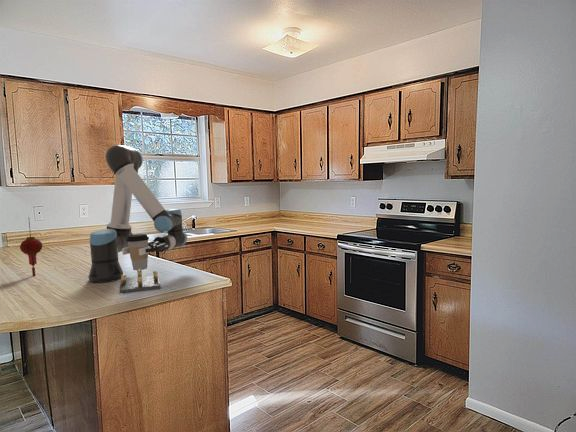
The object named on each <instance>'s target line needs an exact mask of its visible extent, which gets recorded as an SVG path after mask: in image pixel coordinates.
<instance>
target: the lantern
mask: <svg viewBox="0 0 576 432" xmlns="http://www.w3.org/2000/svg"><path fill="white" fill-rule="evenodd" d="M28 219H30V217H29V216H28ZM30 223H31V222H30V221H28V227H29V230H31V226H30V225H31V224H30ZM19 248H20V249H19V250H20V251H21V252H22V253H23V254H25V255H27V257H28V263H29V264H28V265H31V271H32V272H31V273H32V277H35V276H36V268H35V265H37V254H38V253H39V252H41V250H42V249H43V243H42V241H41V240H40V239H37V238H35V236H32V234H31V232H29V236H27V237H26V239H24V240H23V241H21V243H20V247H19Z"/></svg>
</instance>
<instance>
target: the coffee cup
mask: <svg viewBox="0 0 576 432" xmlns="http://www.w3.org/2000/svg"><path fill="white" fill-rule="evenodd" d="M149 238H150V237H149V236H148V235H147V234H146V233H139V234H133V235H130V236H128V238H127V239H126V241H128V245H129V257H130V260H131V266H132V269H133V270H132V271H137V270H147V269H148V262H149V261H148V260H149V253H147V254H143V255H139V249H141V248H145V247H148V242H149Z"/></svg>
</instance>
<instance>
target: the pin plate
mask: <svg viewBox="0 0 576 432" xmlns="http://www.w3.org/2000/svg"><path fill="white" fill-rule="evenodd" d="M136 272H137V273H136V274H137V277H129V278H127V276H126V274H123V275H121V279H120V284H119V285H120V286H119V294H120V295H122V294H127V293H128V294H130V293H137V292H144V291H152V290H160V289H161V282H160V279H159V275H158V271H157V270H155V271H154V270H153V271H152V273H153V275H146V276H143V274H142V273H143V272H142V270H136ZM121 293H122V294H121Z"/></svg>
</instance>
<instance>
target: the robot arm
mask: <svg viewBox="0 0 576 432" xmlns="http://www.w3.org/2000/svg"><path fill="white" fill-rule="evenodd" d="M143 162H144V159H143V155H142V154H141V152H140V151H139V149H136V148H135V147H133V146H132V147H131V146H126V145H121V144H114V145H112V146H110V147H109V148H108V149H107V151H105V163H106V164H107V166H108V168H109V169H110V170H111V172H112V173H113V174H114V175H115V180H114V188H113V189H114V190H113V199H112V207H111V218H110V222H108V224H106V228H104V229H102V228H101V229H99V230H95V231H92V232H91V233H90V235H89V246H90V259H91V267H90V270H89V273H88V281H89V282H90V283H95V284H96V283H97V284H99V283H107V282H108V283H109V282H114V281H118V280H121V275H124V271H123V269H122V266H121V264H120V262H119V253H120V252H121V253H122V255H123V256H124V255H130V253H129V245H128V241H126V239H127V238H128V236H130V235H134V234H133V232H132V226H131V225H130V217H131V209H132V208H131V206H132V199H133V196H134V197H135V200H137V202H138V203H139V204H140V205H141V207H142V208H143V210H144V211H145V212H146V213H147V214H148V216H149V217H150V218H151V219H152V221H153V226H154V228H155V230H156V231H157V232H159V233H167V234H163V235H159V236H156V237H154V239H153V240H152V241H150V242H149V241H148V247H145V248H141V249H139V255H143V254H147V253H148V254H149V253H154V252H155V253H162V252H166V251H167V252H169V251H170V250H172V249H175V248H179V247H181V246H184V245H186V244H187V241H188V236H187V233H185V232H184V229H183V214H182V210H181V209H180V208H179V209H178V208H174V209H167V210H166V209H165V207H164V206H163V205H162V203H161V202H160V200H159V199H158V198H157V197H156V195H155V193H153V191H152V190H151V189H150V187H149V186H148V185H147V184H146V182H145V181H144V180H143V178H142V177H141V176H140V174H139V169H140V168H141V167H142V165H143Z"/></svg>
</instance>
